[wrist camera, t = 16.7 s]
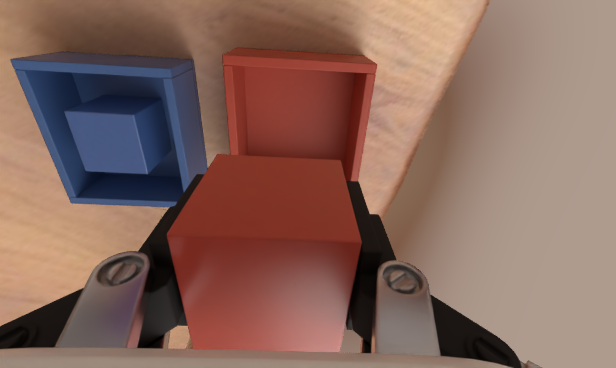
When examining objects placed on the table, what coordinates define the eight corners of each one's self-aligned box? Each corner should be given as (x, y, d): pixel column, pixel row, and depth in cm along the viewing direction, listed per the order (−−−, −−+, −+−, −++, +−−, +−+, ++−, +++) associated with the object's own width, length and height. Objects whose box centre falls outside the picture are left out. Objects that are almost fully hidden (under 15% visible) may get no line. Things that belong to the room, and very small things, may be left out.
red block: (216, 153, 10) (164, 234, 7) (340, 159, 11) (362, 241, 7) (226, 248, 13) (192, 350, 9) (329, 251, 13) (340, 353, 9)
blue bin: (62, 51, 22) (9, 59, 18) (193, 59, 22) (170, 68, 18) (104, 176, 27) (70, 203, 23) (209, 181, 27) (193, 208, 24)
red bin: (236, 47, 22) (221, 54, 18) (364, 55, 22) (377, 63, 18) (243, 173, 27) (233, 199, 23) (347, 177, 27) (354, 204, 24)
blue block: (104, 94, 23) (62, 110, 19) (162, 98, 23) (133, 114, 19) (119, 147, 25) (85, 171, 21) (172, 150, 25) (148, 174, 21)
